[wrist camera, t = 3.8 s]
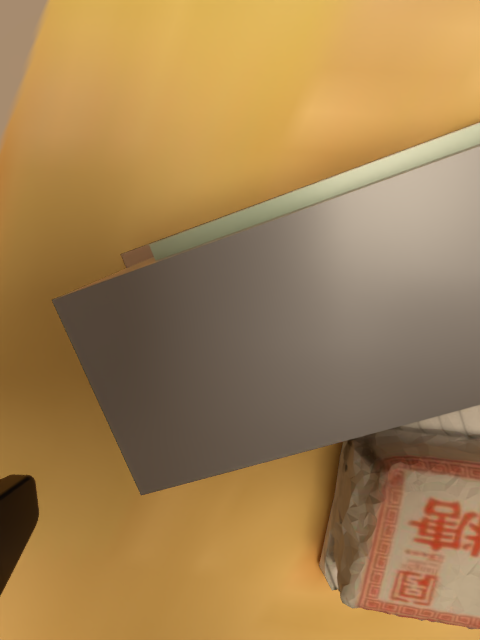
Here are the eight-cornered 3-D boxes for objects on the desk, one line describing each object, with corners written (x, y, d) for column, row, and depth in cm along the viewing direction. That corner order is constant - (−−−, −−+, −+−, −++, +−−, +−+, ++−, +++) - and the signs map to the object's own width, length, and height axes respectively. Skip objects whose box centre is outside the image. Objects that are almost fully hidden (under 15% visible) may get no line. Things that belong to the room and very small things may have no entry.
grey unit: (546, 269, 17) (820, 338, 8) (186, 380, 20) (111, 522, 11) (513, 110, 16) (798, -3, 7) (133, 250, 18) (1, 293, 10)
